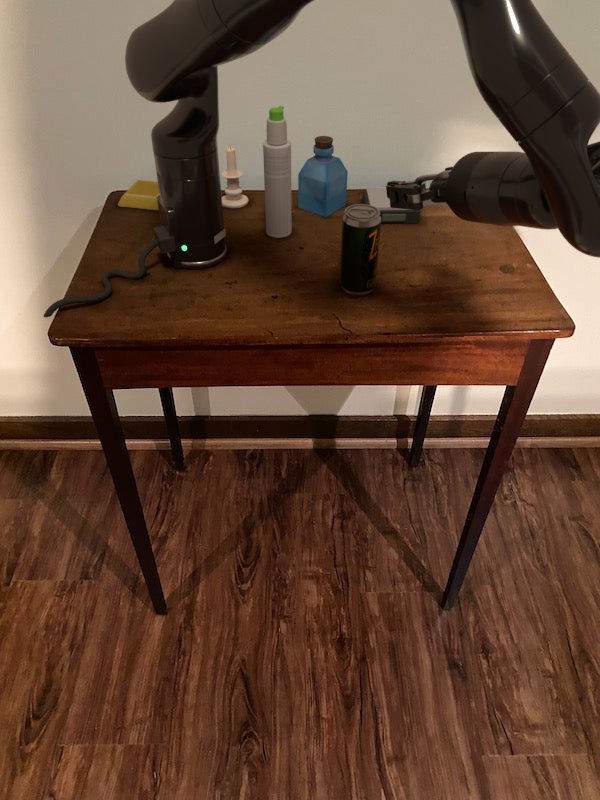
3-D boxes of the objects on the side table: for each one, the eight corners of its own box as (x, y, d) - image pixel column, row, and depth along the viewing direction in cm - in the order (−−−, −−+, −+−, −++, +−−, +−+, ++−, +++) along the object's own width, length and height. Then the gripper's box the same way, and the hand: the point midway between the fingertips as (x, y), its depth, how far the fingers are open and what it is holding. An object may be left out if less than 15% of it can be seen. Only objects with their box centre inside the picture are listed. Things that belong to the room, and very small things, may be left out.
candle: (243, 209, 119) (240, 152, 112) (216, 206, 120) (211, 149, 113) (252, 197, 123) (249, 141, 116) (225, 194, 124) (220, 138, 117)
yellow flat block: (114, 195, 119) (116, 206, 120) (160, 200, 117) (162, 211, 119) (133, 175, 125) (135, 186, 126) (177, 180, 124) (178, 190, 125)
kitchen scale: (367, 224, 115) (368, 209, 113) (362, 201, 122) (363, 186, 120) (419, 224, 115) (421, 209, 113) (411, 200, 122) (412, 186, 120)
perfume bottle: (326, 217, 117) (328, 148, 109) (298, 207, 120) (298, 140, 112) (346, 204, 121) (349, 137, 113) (318, 196, 123) (319, 130, 116)
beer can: (335, 293, 98) (338, 217, 90) (344, 275, 102) (347, 201, 94) (371, 299, 97) (377, 222, 89) (378, 280, 101) (385, 205, 93)
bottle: (297, 231, 113) (296, 109, 99) (278, 240, 110) (275, 116, 97) (279, 223, 115) (276, 102, 102) (260, 232, 113) (255, 109, 99)
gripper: (550, 138, 72) (463, 141, 86) (438, 166, 68) (366, 164, 82) (552, 209, 75) (467, 200, 89) (444, 239, 71) (373, 224, 85)
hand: (418, 182), depth 86 cm, fingers open, 8 cm apart
